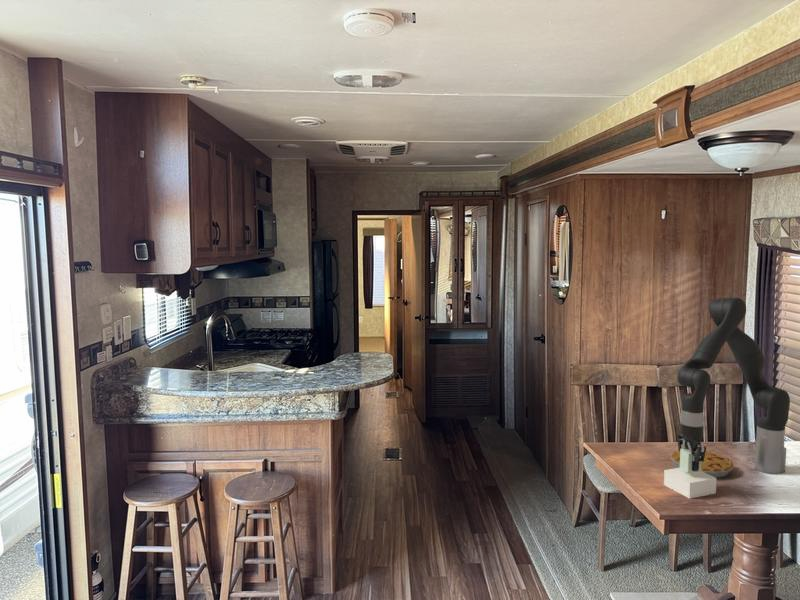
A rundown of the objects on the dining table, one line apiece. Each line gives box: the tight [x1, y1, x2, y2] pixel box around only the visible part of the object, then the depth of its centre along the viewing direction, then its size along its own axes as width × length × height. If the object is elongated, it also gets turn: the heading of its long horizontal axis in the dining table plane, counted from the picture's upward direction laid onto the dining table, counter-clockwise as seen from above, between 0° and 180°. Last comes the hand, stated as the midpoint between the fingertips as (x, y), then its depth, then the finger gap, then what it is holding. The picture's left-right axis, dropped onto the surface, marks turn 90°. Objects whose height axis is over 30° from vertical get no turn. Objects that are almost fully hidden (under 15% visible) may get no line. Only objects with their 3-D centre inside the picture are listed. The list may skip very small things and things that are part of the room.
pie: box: [670, 449, 735, 478], centre depth 225 cm, size 22×22×5 cm
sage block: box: [680, 449, 701, 472], centre depth 206 cm, size 5×5×7 cm
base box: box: [663, 467, 717, 499], centre depth 207 cm, size 12×12×6 cm
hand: (690, 467), depth 206 cm, fingers closed on sage block, 5 cm apart
